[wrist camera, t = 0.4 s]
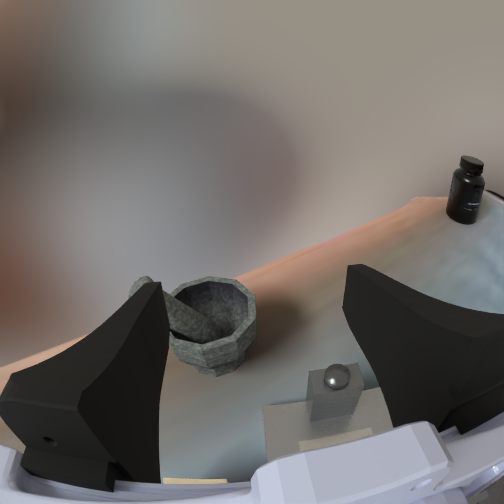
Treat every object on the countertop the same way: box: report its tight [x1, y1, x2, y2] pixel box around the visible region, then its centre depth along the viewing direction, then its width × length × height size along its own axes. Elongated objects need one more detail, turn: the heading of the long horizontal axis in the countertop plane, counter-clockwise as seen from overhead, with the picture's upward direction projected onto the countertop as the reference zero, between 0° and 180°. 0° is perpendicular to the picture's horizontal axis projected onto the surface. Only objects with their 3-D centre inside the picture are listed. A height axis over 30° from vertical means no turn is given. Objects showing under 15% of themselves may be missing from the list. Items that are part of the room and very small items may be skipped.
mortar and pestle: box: [129, 276, 257, 377], centre depth 29 cm, size 11×9×12 cm
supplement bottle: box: [446, 156, 485, 224], centre depth 48 cm, size 7×7×12 cm
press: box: [262, 363, 393, 463], centre depth 20 cm, size 11×12×7 cm
